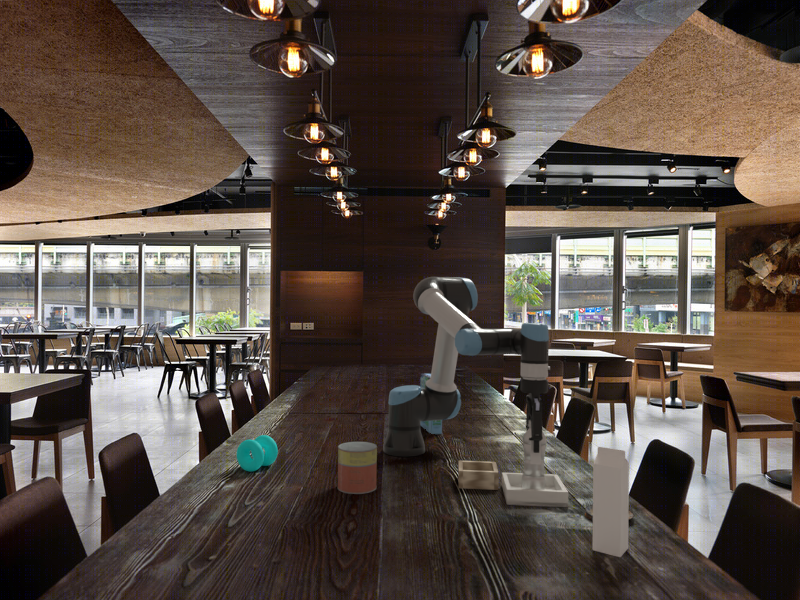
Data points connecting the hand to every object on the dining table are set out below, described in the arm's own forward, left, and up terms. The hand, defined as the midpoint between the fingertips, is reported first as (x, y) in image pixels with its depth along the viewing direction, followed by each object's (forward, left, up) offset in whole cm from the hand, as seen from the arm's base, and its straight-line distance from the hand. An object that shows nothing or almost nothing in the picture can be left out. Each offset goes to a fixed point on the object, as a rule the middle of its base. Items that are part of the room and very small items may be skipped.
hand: (533, 459), depth 161 cm
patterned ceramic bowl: (+17, -14, -11) cm, 24 cm away
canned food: (-50, +1, -10) cm, 51 cm away
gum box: (-32, +83, -10) cm, 90 cm away
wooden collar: (-15, +10, -10) cm, 21 cm away
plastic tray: (0, 0, -10) cm, 10 cm away
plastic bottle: (0, 0, -9) cm, 9 cm away
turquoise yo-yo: (-85, +16, -10) cm, 87 cm away
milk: (+12, -34, -10) cm, 38 cm away
